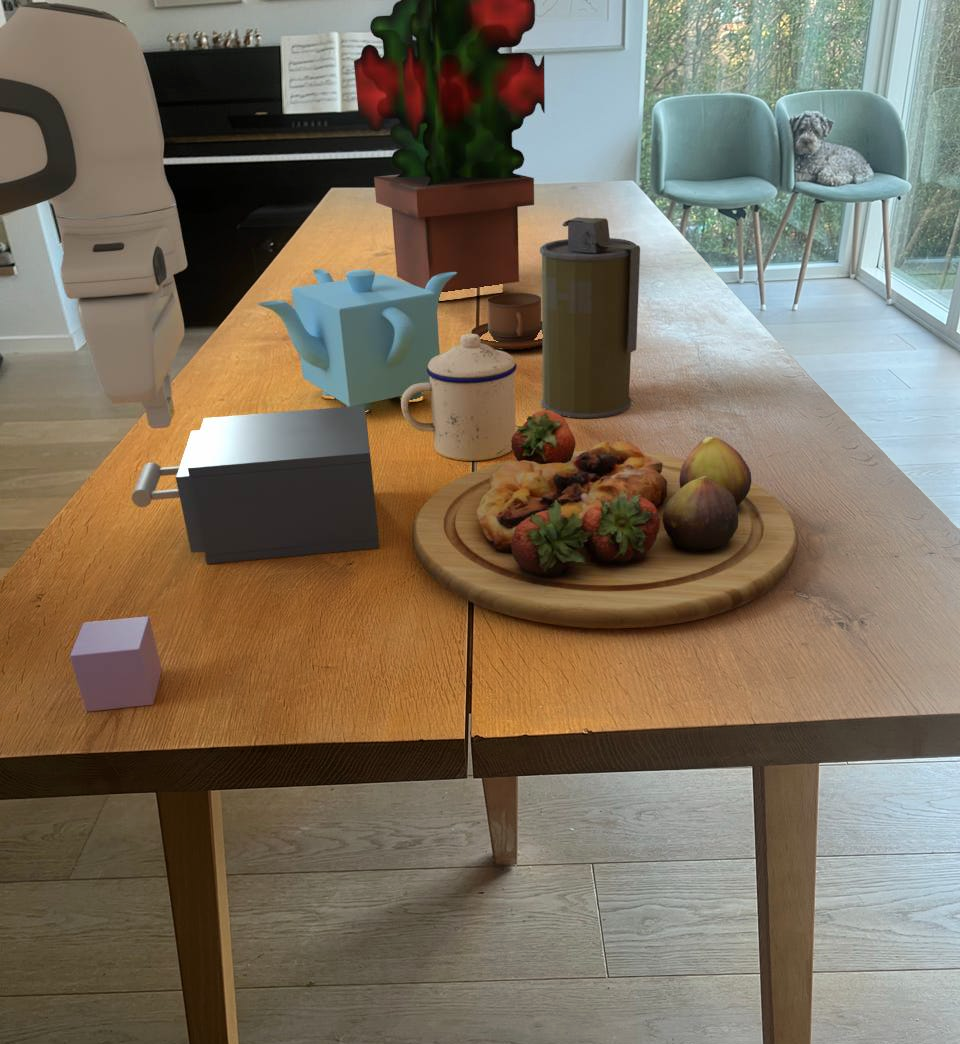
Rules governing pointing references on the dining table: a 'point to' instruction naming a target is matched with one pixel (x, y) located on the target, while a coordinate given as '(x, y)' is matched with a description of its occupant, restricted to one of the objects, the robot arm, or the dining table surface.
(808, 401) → the dining table surface
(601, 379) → the canister
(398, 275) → the potted plant
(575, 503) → the wooden plate
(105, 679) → the purple block
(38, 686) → the dining table surface
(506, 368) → the teacup with lid
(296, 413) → the grey drawer box
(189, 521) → the drawer
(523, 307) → the cup and saucer
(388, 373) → the teakettle
